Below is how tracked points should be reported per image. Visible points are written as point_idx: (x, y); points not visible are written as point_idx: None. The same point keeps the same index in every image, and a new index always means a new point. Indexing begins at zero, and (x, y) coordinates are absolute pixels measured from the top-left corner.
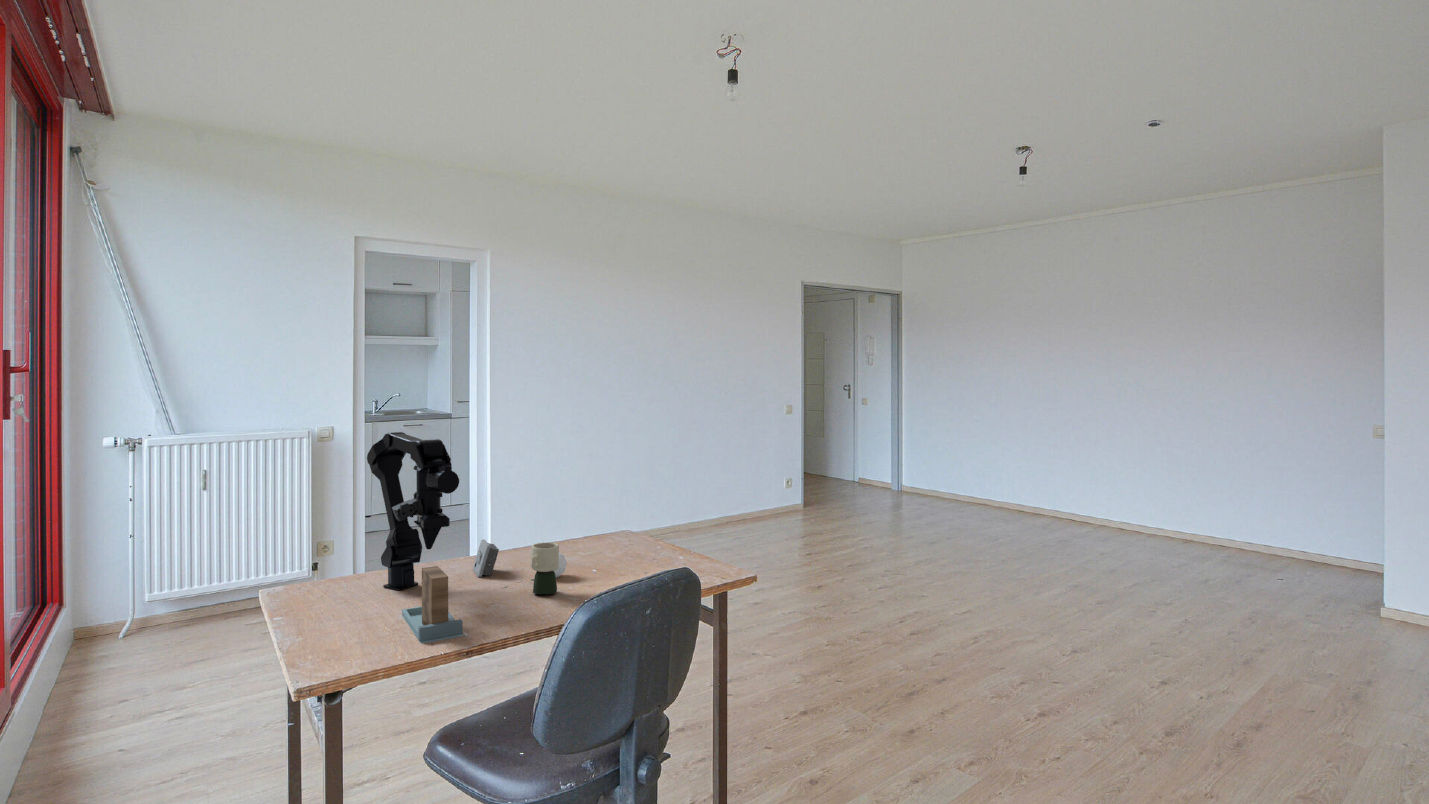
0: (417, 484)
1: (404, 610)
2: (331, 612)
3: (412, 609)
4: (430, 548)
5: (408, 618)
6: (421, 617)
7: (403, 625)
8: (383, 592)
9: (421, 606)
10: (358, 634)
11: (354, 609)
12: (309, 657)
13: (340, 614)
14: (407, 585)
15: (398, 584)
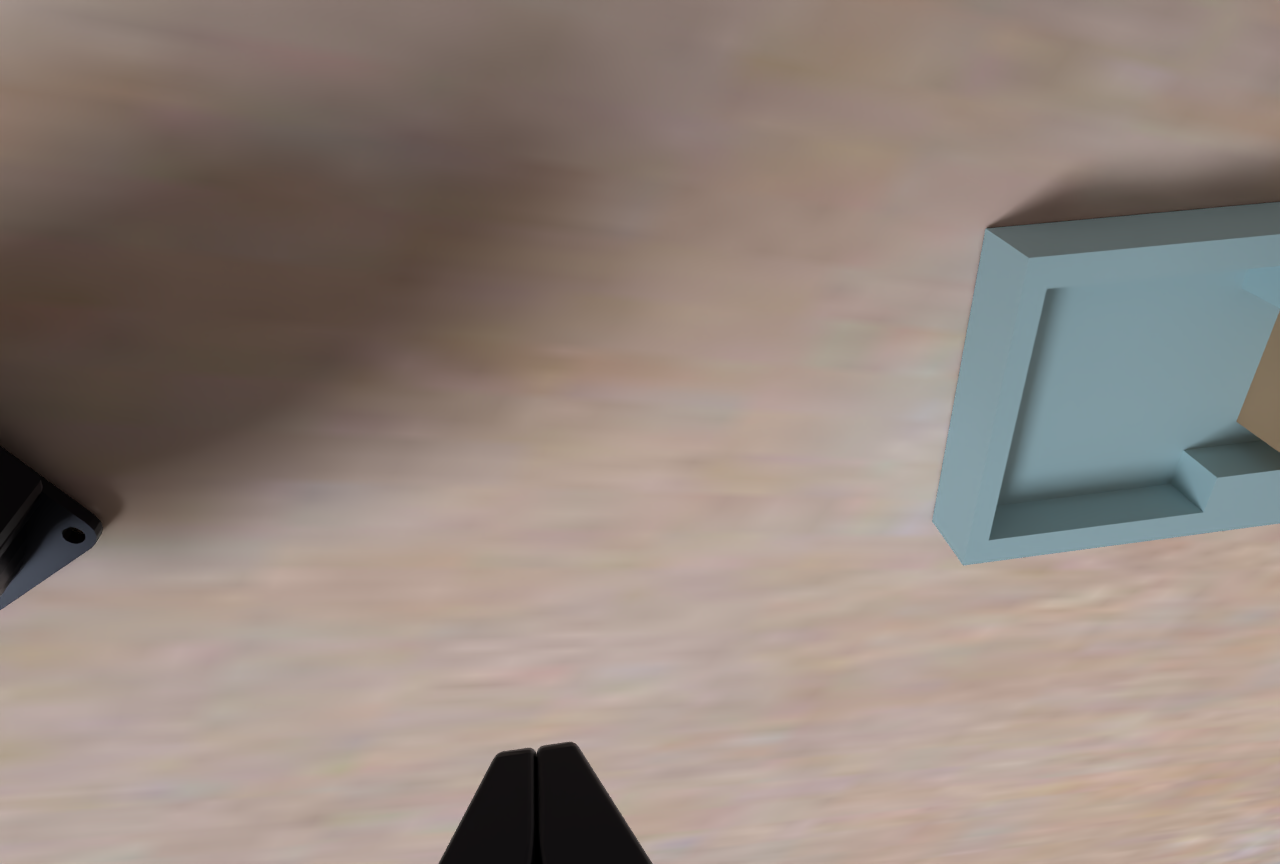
0: None
1: (1002, 550)
2: None
3: (996, 493)
4: (586, 762)
5: (1207, 530)
6: (1099, 414)
7: None
8: (121, 633)
9: (996, 432)
10: (1058, 716)
11: None
12: (1195, 841)
13: None
14: (30, 479)
15: (10, 563)
